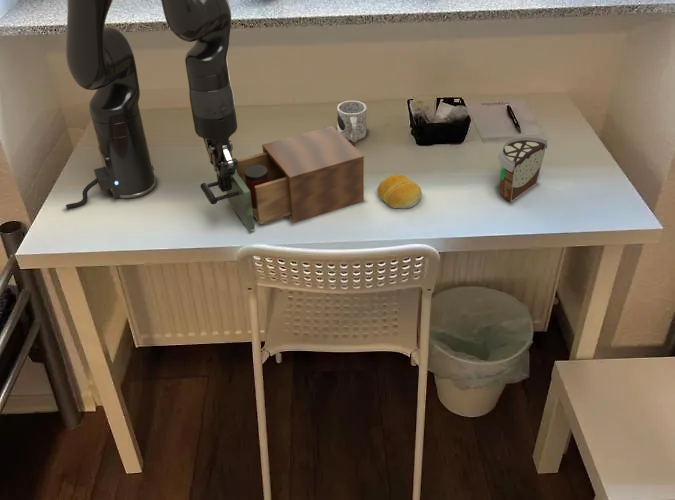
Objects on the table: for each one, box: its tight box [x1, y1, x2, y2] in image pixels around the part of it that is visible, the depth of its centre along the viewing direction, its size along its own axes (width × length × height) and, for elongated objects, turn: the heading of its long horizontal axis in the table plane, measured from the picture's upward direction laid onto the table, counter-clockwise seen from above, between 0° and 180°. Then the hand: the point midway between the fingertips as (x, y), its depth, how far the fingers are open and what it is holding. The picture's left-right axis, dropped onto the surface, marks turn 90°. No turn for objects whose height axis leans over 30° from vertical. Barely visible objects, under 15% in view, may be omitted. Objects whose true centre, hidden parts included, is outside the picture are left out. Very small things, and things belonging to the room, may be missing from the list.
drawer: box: [199, 152, 291, 232], centre depth 137 cm, size 20×12×9 cm, turn 117°
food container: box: [497, 136, 548, 204], centre depth 142 cm, size 12×6×10 cm, turn 135°
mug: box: [336, 100, 367, 143], centre depth 160 cm, size 10×7×7 cm, turn 4°
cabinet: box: [261, 125, 365, 224], centre depth 141 cm, size 16×14×11 cm
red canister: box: [244, 165, 269, 209], centre depth 137 cm, size 4×4×7 cm
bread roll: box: [376, 174, 422, 209], centre depth 142 cm, size 8×9×4 cm
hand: (225, 189), depth 134 cm, fingers closed
